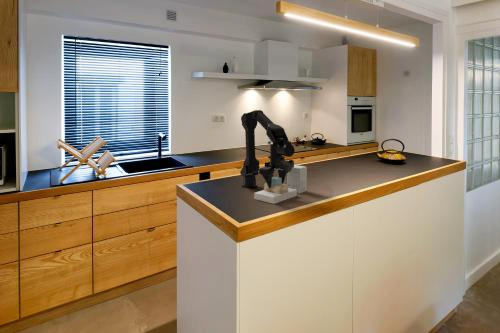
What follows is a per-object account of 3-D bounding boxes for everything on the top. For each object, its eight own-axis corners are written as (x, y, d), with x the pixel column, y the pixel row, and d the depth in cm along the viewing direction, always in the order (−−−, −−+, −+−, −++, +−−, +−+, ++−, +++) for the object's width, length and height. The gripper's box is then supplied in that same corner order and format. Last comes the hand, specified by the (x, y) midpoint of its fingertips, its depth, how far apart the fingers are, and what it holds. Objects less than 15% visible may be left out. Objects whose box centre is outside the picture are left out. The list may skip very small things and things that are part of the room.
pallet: (263, 190, 154) (264, 183, 153) (271, 188, 158) (271, 181, 157) (280, 194, 147) (280, 187, 146) (288, 191, 151) (288, 184, 151)
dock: (253, 198, 151) (253, 192, 150) (277, 191, 164) (277, 185, 163) (273, 203, 143) (274, 197, 142) (296, 195, 155) (297, 189, 155)
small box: (306, 191, 163) (307, 166, 161) (299, 193, 159) (300, 168, 156) (293, 188, 169) (294, 164, 166) (286, 191, 164) (286, 166, 162)
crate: (269, 184, 152) (269, 178, 151) (274, 182, 155) (274, 176, 154) (276, 185, 149) (276, 179, 149) (281, 184, 152) (281, 177, 151)
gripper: (277, 158, 137) (277, 193, 140) (301, 153, 150) (300, 185, 153) (258, 155, 144) (258, 188, 147) (282, 151, 158) (282, 181, 161)
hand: (275, 186), depth 152 cm, fingers open, 9 cm apart
